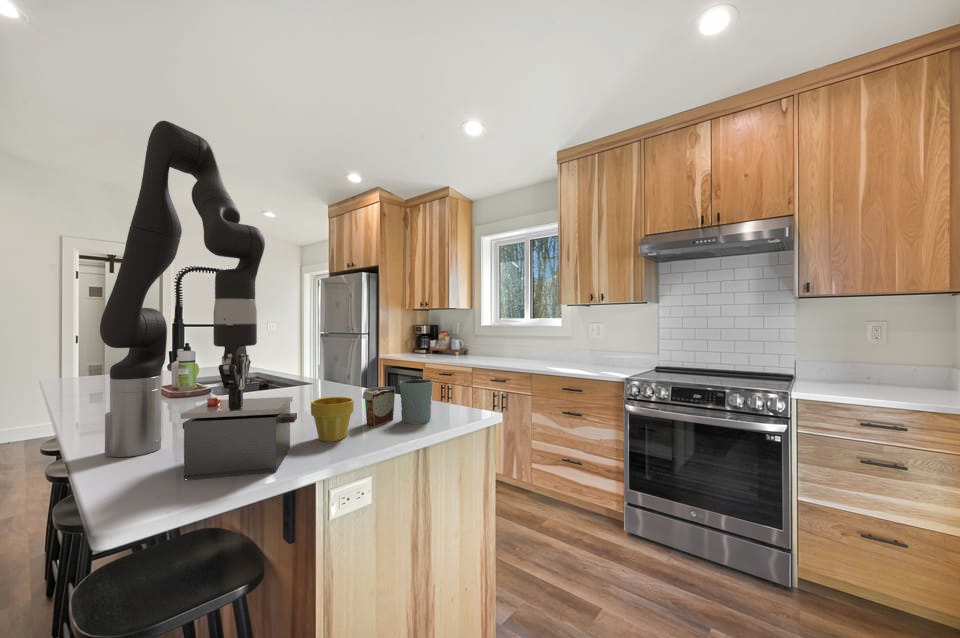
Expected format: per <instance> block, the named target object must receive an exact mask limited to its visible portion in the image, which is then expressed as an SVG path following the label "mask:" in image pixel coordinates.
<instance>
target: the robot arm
mask: <svg viewBox="0 0 960 638" xmlns="http://www.w3.org/2000/svg"><path fill="white" fill-rule="evenodd" d="M149 134H150V135H149V136H148V142H147V145H146V151H145V157H144V165H143V170H142V172H143V173H142V176H141V177H142V179H141V184H140V190H139V193H138V197H137V202H136V205H135V207H134V208H135V209H134V212H133V214H132V215H133V216H132V218H131V221H130V226H129V229H128V233H127V238H126V240H125V241H126V243H125V247H124V252H123V254H122V259H121V263H120V264H119V265H120V267H119V269H118V273H117V276H116V280H115V282H114V284H113V287H112V290H111V292H110V296H109V298H108V299H107V303H106V305H105V308H104V310H103V313H102V316H101V319H100V323H99V334H100V337H101V341H103V343H104V344H105V345H106V346H107V347H109V348H113V349H128V352H127V354H126V356H125V357H124V358H123V359H122V360H120V361H118V362H116V363H114V364H112V365H111V367H110V369H109V411H108V412H106V413H105V414H104V457H113V458H124V457H125V458H126V457H127V458H128V457H135V456H142V455H145V454H151V453H153V452H156V451H158V450H160V449H161V448H162V369H163V367H164V365H165V361H166V354H167V344H168V343H167V342H168V341H167V340H168V339H167V338H168V326H167V321H166V319H165V316H164V315H163V313H162V312H161V311H159V310H157V309H155V308H151V307H143V304H144V301H145V299H146V296H147V294H148V291H149V290H150V288H152V287H151V286H152V285H153V284H154V283H155V282H156V281H157V280H158V279H159V278H160V277H161V276H162V274H164V273H165V272H166V270H168V268H169V267H170V266H171V264H172V263H173V262H174V260H175V259H176V256H177V253H178V250H179V249H178V248H179V245H180V242H181V238H182V234H183V233H182V231H183V230H182V229H183V228H182V224H181V221H180V218H179V216H178V214H177V210H176V208H175V205H174V203H173V200H172V197H171V194H170V190H169V189H170V188H169V174H170V168H171V169H174V170H177V171H179V172H182V173H184V174H189V175H190V176H192V177H193V178H195V180H196V182H194V185H193V187H192V189H191V199H192V204H193V206H194V208H195V210H196V211H197V213H198V215H199V217H200V218H201V221H202V228H203V242H204V246H205V248H206V249H207V250H208V251H209V252H210V253H212V254H213V255H214V256H217V257H223V258H230V259H231V258H232V259H239V261H238V263H237V266H236V267H234V268H227V269H221V270H218V271H217V272H216V273H215V275H214V276H215V277H214V299H215V300H214V306H213V346H215V347H217V348H218V347H219V348H220V347H221V348H224V350H223V351H224V352H223V356H222V357H221V364H219V366H218V372H219V375H220V379H221V383H222V386H223V388H224V389H225V390H226V391H228V400H229V409H240V408H241V407H243V399H244V389H245V386H246V385H247V383H248V378H249V372H250V368H251V367H250V365H251V364H252V363H251V361H252V360H251V359H250V355H249V354H247V347H250V346H252V347H253V346H256V345H257V341H258V336H257V335H258V333H257V332H258V330H257V329H258V325H257V324H258V323H257V322H258V320H257V319H258V317H257V315H258V313H257V312H258V310H257V304H256V280H257V275H258V272H259V268H260V264H261V261H262V258H263V255H264V252H265V247H266V242H265V237H264V235H263V233H262V231H261V230H260V229H259V228H258V227H255V226H252V225H249V224H243V223H240V221H241V214H240V212H239V209H238V207H237V204H235V202H234V200H233V198H232V196H231V195H230V194H229V192H228V191H227V188H226V186H225V185H224V182H223V179H222V175H221V172H220V169H219V165H218V162H217V159H216V156H215V154H214V151H213V148H212V146H211V145H210V143H209V142H208V141H207V140H206V139H205V138H203V137H202V136H201V135H198V134H196V133H194V132H193V131H190V130H188V129H185V128H184V127H181V126H179V125H177V124H175V123H173V122H171V121H167V120H160V121H158V122H157V123H156V124H155V125H154V126H153V127H152V130H151V131H150V133H149Z"/></svg>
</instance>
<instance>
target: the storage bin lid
mask: <svg viewBox="0 0 960 638" xmlns="http://www.w3.org/2000/svg"><path fill="white" fill-rule="evenodd" d="M206 401H207V402H205V403H202V404H199V405H198V406H195V407H192V408H191V409H188V410H186V411H184V412H182V413H180V420H189V419H191V418H210V417H229V416H248V415H267V414H279V413H280V412H281V411H282V410H283V409H284V408H286V407H287V406H288V405H289V404H290V405H291V403H292V402H293V401H294V400H293V396H284V397H283V396H282V397H281V396H279V397H261V398H260V397H257V398H254V397H253V398H243V407H241V408H240V409H229V399H222V397H218V396H217V397H209V398H207V400H206Z"/></svg>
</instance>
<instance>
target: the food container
mask: <svg viewBox="0 0 960 638" xmlns="http://www.w3.org/2000/svg"><path fill="white" fill-rule="evenodd" d="M395 394H397V390H396V386H376V387H369V388H366V389H364V391H363V394H362V399H363V400H364V405H365V418H366V425H367V426H368V427H370V428H376V427H379V426H382V425H384V424H387V423H389V422H392V420H393V421H394V412H395V397H396V395H395Z"/></svg>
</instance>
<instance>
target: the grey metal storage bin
mask: <svg viewBox="0 0 960 638" xmlns="http://www.w3.org/2000/svg"><path fill="white" fill-rule="evenodd" d="M297 419H298V413H297V412H291V403H290V404H289V405H288V406H287V407H286V408H284V409H283V410H282V411H281V412H280V413H279V414H267V415H248V416H229V417H210V418H191V419H186V421H183V422H182V430H183V481H186V480H185V479H193V480H201V479H203V478H205V479H214V478H213V477H216V478H224V477H225V478H226V477H237V476H238V477H239V476H247V475H249V476H250V475H260V474H261V475H262V474H270V473H271V474H272V473H277V472H278V470H279V468H280V466H281V465H282V463H283V461H284V460H285V458H286V456H287V455H288V453H289V452H290V449H291V423H296V420H297Z"/></svg>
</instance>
